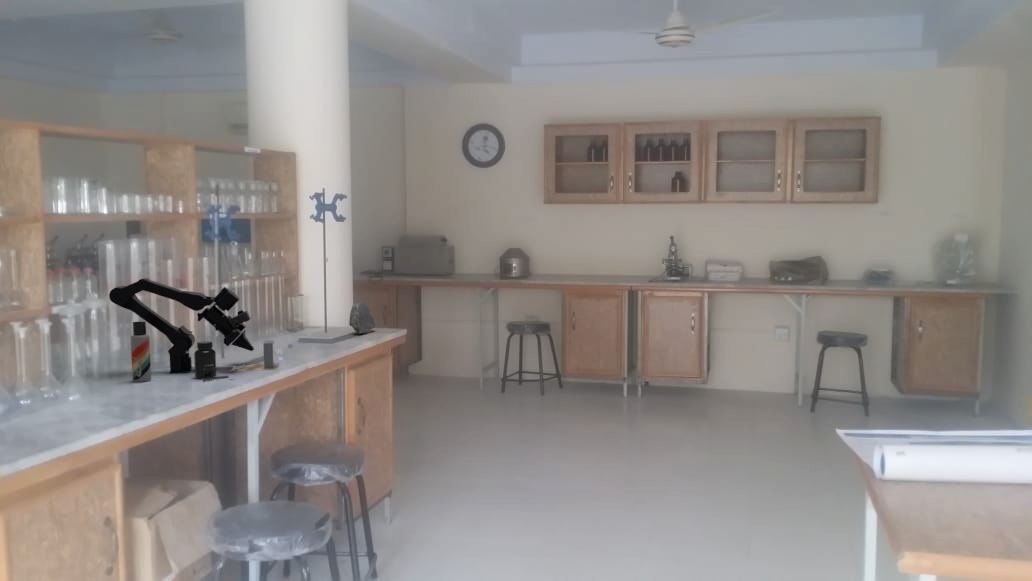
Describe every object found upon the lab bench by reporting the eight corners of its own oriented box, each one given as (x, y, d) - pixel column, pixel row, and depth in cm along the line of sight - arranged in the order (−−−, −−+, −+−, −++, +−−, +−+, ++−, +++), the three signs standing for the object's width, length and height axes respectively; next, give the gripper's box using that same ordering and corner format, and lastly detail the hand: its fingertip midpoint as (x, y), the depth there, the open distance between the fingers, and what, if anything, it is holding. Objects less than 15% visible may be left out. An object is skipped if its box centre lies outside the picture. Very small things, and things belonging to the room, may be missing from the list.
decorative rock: (358, 336, 366) (357, 302, 364) (346, 335, 369) (345, 302, 367) (378, 331, 381) (377, 298, 379) (366, 330, 384) (365, 298, 382)
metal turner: (205, 383, 270) (205, 380, 270) (201, 379, 275) (201, 376, 275) (250, 377, 278) (250, 375, 278) (246, 374, 283) (245, 372, 283)
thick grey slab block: (264, 368, 292) (263, 343, 291) (266, 364, 298) (265, 340, 297) (273, 368, 292) (272, 343, 291) (275, 364, 299) (274, 340, 298)
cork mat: (229, 372, 287) (229, 371, 287) (233, 366, 298) (233, 364, 298) (276, 370, 290) (276, 369, 290) (279, 364, 302) (279, 363, 302)
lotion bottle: (131, 382, 271) (128, 322, 269) (134, 379, 276) (131, 320, 274) (149, 381, 272) (146, 321, 270) (152, 378, 278) (149, 319, 276)
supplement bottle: (209, 379, 275) (207, 344, 274) (190, 378, 277) (189, 343, 276) (220, 375, 282) (219, 340, 281) (202, 374, 283) (201, 340, 282)
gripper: (232, 307, 281) (266, 337, 285) (238, 300, 300) (271, 329, 303) (208, 330, 281) (243, 361, 284) (216, 323, 299) (249, 351, 302)
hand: (253, 350), depth 293 cm, fingers closed
